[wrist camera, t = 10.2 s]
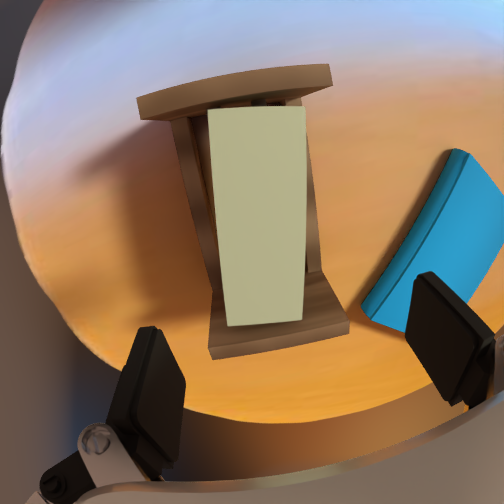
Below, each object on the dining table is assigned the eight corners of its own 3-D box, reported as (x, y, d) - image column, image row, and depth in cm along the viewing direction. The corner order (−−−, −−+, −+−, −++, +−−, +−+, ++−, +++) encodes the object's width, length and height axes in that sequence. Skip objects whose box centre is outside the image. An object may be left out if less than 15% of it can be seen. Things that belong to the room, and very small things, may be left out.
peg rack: (173, 107, 26) (136, 97, 15) (291, 86, 25) (328, 63, 15) (217, 287, 35) (212, 360, 24) (315, 269, 34) (349, 333, 23)
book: (517, 214, 29) (438, 345, 38) (500, 205, 33) (425, 330, 42) (467, 149, 25) (368, 322, 34) (445, 145, 29) (356, 303, 38)
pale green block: (212, 113, 20) (207, 109, 16) (289, 110, 21) (305, 106, 16) (227, 292, 27) (227, 326, 23) (291, 287, 27) (302, 319, 23)
